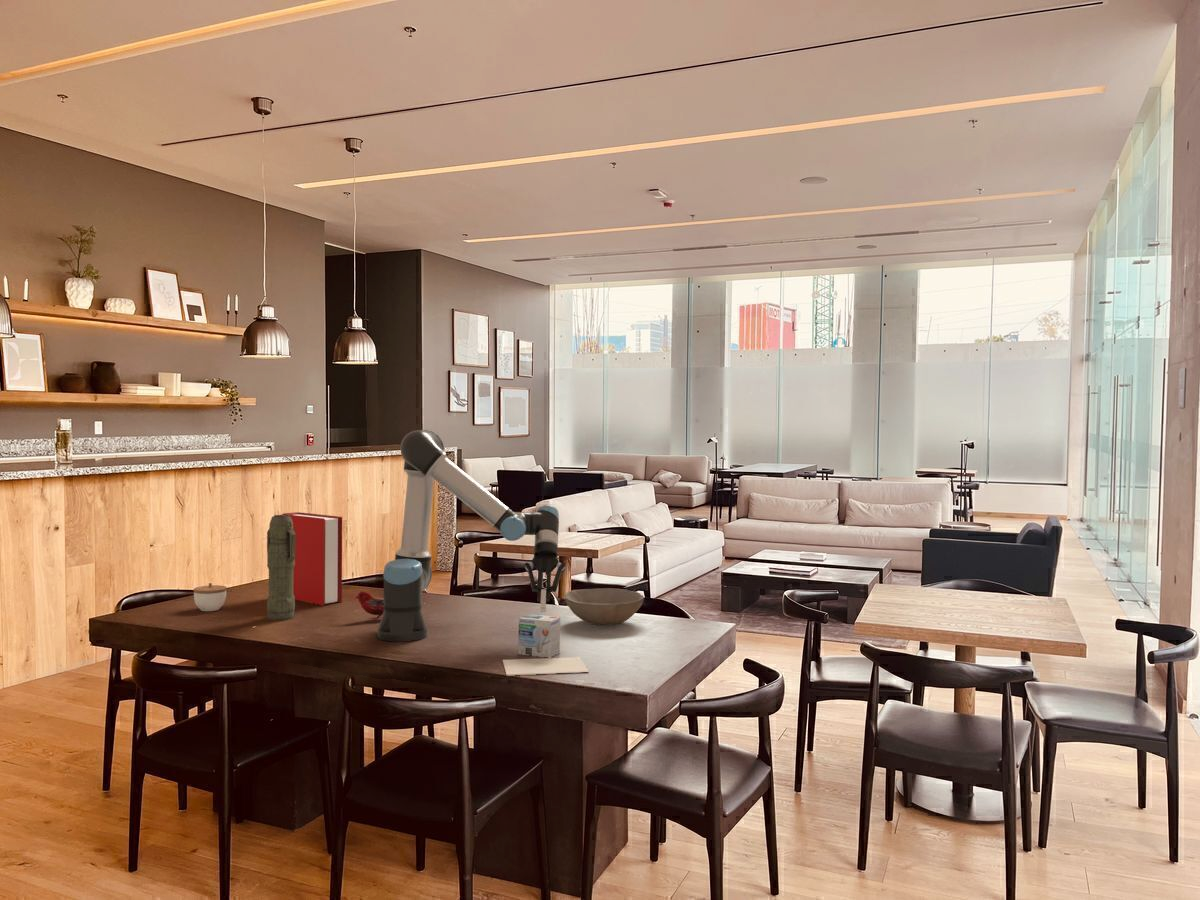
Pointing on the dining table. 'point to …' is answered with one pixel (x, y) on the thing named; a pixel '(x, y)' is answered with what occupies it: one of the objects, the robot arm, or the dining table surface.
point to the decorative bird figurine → (371, 604)
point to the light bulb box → (539, 635)
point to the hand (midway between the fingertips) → (543, 609)
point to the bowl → (604, 605)
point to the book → (317, 558)
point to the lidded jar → (210, 597)
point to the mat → (544, 666)
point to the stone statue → (281, 567)
